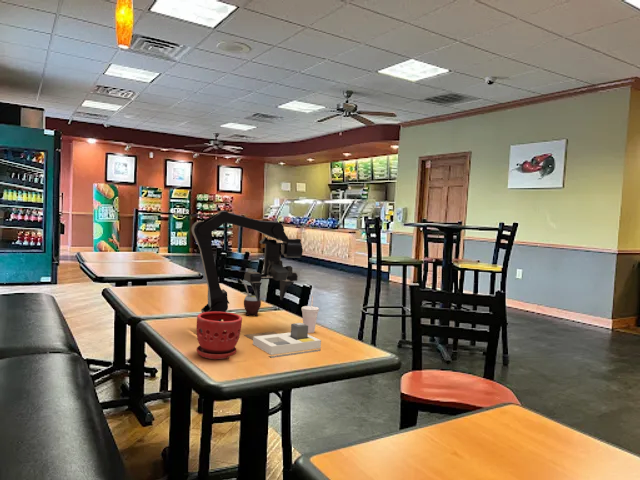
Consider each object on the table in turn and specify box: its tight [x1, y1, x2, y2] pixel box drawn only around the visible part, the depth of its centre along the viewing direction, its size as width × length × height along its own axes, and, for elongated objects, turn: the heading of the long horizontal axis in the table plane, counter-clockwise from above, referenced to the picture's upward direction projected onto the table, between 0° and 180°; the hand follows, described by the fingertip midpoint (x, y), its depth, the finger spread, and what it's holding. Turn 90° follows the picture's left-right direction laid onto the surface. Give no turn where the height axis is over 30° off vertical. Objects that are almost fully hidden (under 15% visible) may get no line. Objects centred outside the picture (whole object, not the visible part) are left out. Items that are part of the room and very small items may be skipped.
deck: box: [243, 331, 279, 341], centre depth 161 cm, size 12×9×1 cm
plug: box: [290, 322, 309, 340], centre depth 153 cm, size 4×4×7 cm
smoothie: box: [301, 295, 320, 334], centre depth 171 cm, size 6×6×14 cm
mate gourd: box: [239, 279, 262, 317], centre depth 196 cm, size 8×8×15 cm
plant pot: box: [196, 311, 243, 360], centre depth 141 cm, size 13×13×12 cm
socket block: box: [252, 331, 322, 359], centre depth 151 cm, size 18×12×4 cm, turn 125°
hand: (270, 300), depth 169 cm, fingers open, 9 cm apart
